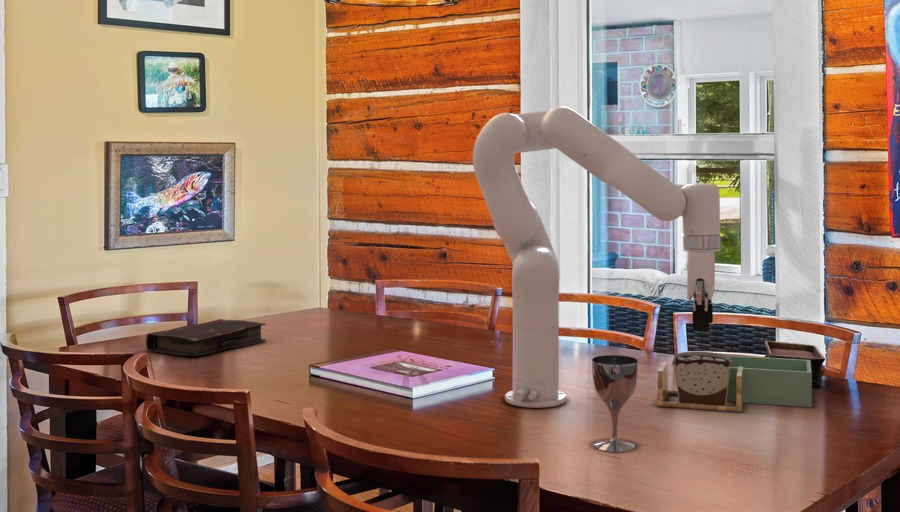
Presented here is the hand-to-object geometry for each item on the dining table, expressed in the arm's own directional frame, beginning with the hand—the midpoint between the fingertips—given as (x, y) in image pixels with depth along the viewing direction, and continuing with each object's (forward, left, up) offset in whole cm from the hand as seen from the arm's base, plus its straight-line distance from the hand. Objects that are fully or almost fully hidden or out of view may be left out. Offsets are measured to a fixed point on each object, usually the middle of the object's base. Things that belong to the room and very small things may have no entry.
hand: (703, 326), depth 198 cm
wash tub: (+9, -13, -16) cm, 22 cm away
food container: (0, 0, -16) cm, 16 cm away
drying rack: (0, 0, -16) cm, 16 cm away
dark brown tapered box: (+26, -18, -16) cm, 35 cm away
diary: (+22, +130, -16) cm, 133 cm away
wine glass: (-34, +12, -16) cm, 40 cm away
